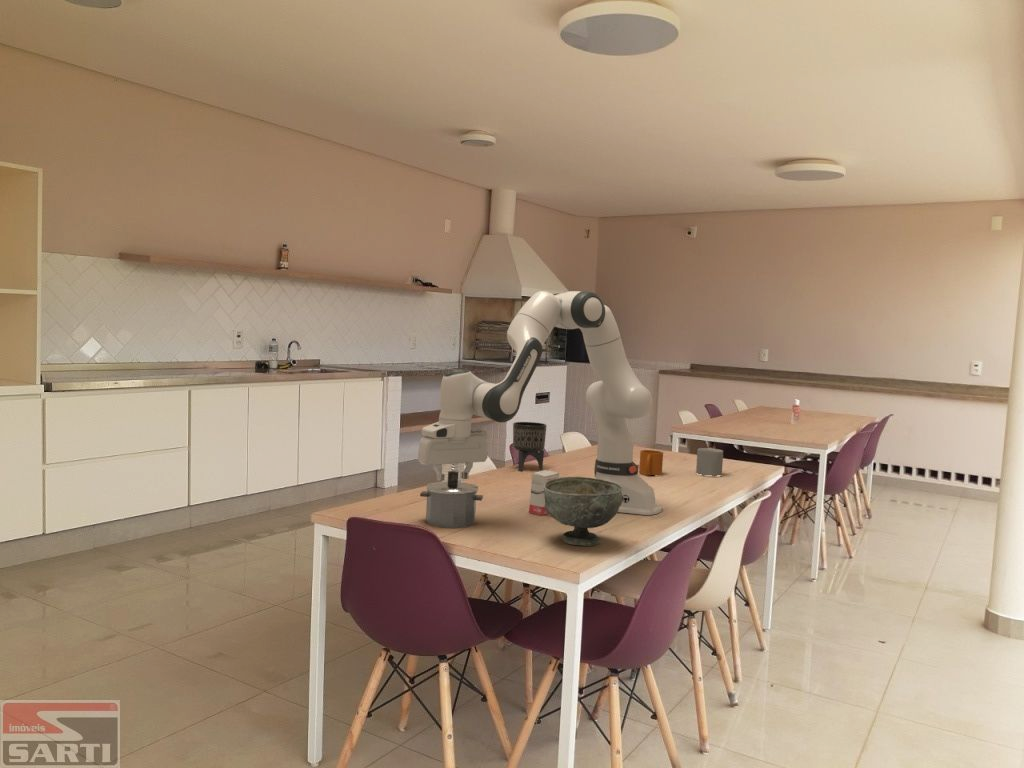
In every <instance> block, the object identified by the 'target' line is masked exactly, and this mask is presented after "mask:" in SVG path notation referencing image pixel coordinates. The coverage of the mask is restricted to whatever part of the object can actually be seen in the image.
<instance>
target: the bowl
mask: <svg viewBox="0 0 1024 768" xmlns="http://www.w3.org/2000/svg"><path fill="white" fill-rule="evenodd" d="M621 492H622V487H621V486H620V485H619V484H616V483H613V482H608V481H604V480H600V479H595V477H594V478H593V477H584V476H565V477H559V478H556V479H552V480H549V481H547V482H546V483H545V484H544V497H545V509H546V511H547V513H548V515H549V516H550V517H551V518H552V519H554V520H555V521H558V523H560V524H562V525H565V526H569V527H573V530H568V531H566V532H564V533H562V535H561V540H562V541H563V542H564V543H565V544H568V545H574V546H584V547H585V546H587V547H589V546H590V547H591V546H596V545H599V544H600V541H601V540H600V537H599V536H598V535H597V534H595V533H593V532H591V531H589V529H594V528H598V527H601V526H604V525H606V524H608V523H609V522H610V521H612V519H613V518H614V517H615V516H616V515H617V514H618V513H619V512H618V510H619V506H621V504H622V499H623V498H622V493H621Z"/></svg>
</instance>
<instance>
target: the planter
mask: <svg viewBox="0 0 1024 768" xmlns="http://www.w3.org/2000/svg"><path fill="white" fill-rule="evenodd" d="M546 435H547V424H546V423H542V422H532V421H517V422H513V423H512V448H513V449H514V450H516V451H518V465H517V466H518V468H517V469H518V472H523V471H524V466H525V461H526V459H527V457H528V456H531V457H533V458H535V460H536V461H537V464H538V471H541V470H542V471H543V465H544V456H545V447H546V445H545V444H546Z"/></svg>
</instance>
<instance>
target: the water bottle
mask: <svg viewBox="0 0 1024 768" xmlns="http://www.w3.org/2000/svg"><path fill="white" fill-rule="evenodd" d="M464 469H465V463H457V464H442V468H441V473H442V474H445V477H444V481H440V482H448V471H457V472H458V482H465V481H464V480H465V479H461V472H463V471H464Z"/></svg>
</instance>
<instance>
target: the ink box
mask: <svg viewBox="0 0 1024 768" xmlns="http://www.w3.org/2000/svg"><path fill="white" fill-rule="evenodd" d="M556 478H560V472H558V471H553V470H549V469H548V470H547V469H545V470H542V471H541V470H538V471H535V472H533V473H532V474H531V485H530V496H529V509H528V513H529V514H534V515H539V516H545V515H547V514H548V513H547V511H546V509H545V497H544V484H545V483H546V482H547V481H549V480H552V479H556ZM548 515H549V514H548Z"/></svg>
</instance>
